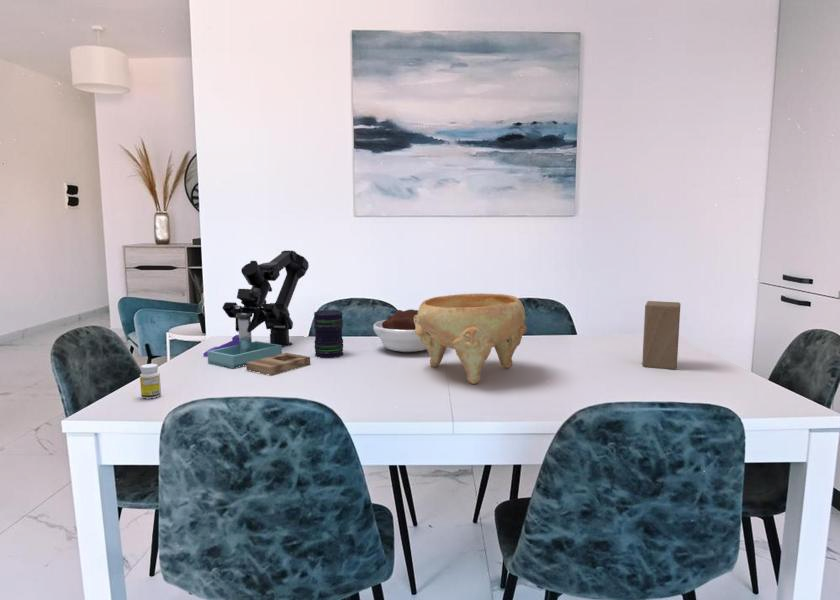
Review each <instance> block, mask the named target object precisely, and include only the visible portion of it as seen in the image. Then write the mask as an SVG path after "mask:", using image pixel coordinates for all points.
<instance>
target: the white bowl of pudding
mask: <svg viewBox="0 0 840 600" xmlns="http://www.w3.org/2000/svg"><path fill="white" fill-rule="evenodd" d="M415 315H418V309H411V308H410V309H406V310H401V309H398V310H397V311H396V312H395V313H394V314H393V315H391V316H388V317H387V319H383V320H380V321H376V322H375V323H373V331H374V333H375V335H376V336H377V337H378V338H379V339H380V340H381V344H382V345H383V347H384V348H386V349H388V350H390V351H395V352H401V353H416V352H421V351H425V350H427V349H426V347H425V345H423V344H422V343H421V340H420V338H419V336H418V335H417V334H416V332H415V324H414V316H415Z"/></svg>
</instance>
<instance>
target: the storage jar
mask: <svg viewBox="0 0 840 600" xmlns="http://www.w3.org/2000/svg"><path fill="white" fill-rule="evenodd" d="M313 316H314V317H313V318H314V319H313V324H314V325H313V327H314V328H313V329H314V333H315V334H314V337H315V339H314V352H315V353H314V357H316V356H317V357H316V358H318V357H320V358H319V359H335V357H337V358H340V356H341V357H342V355H343V356H344V352H343V351H344V339H343V328H344V325H343V323H344V318H343V311H341V310H330V309H329V310H318V311H314V313H313Z"/></svg>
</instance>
